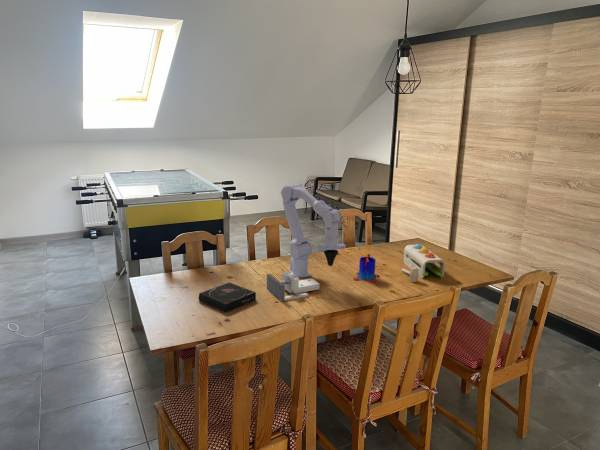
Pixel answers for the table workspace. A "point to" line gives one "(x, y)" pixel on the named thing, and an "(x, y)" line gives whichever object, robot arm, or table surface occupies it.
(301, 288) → the bracket
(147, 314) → the table surface
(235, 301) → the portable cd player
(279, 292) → the grey plate with rod
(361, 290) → the table surface
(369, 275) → the fantasy tower
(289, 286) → the gauge plate
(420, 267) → the pound a ball toy
